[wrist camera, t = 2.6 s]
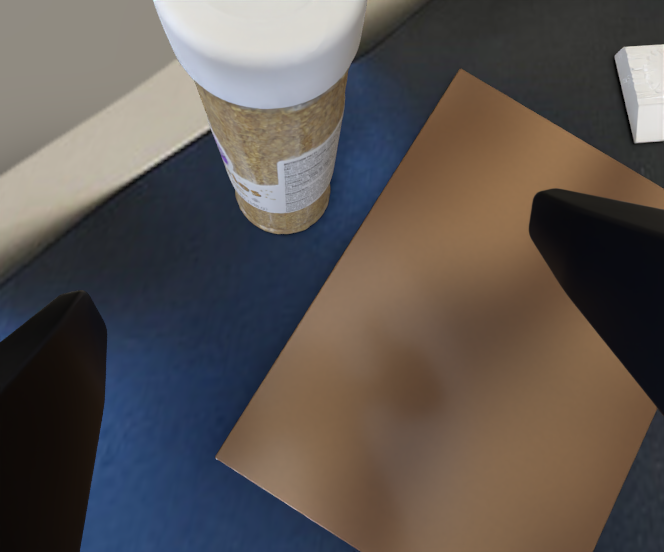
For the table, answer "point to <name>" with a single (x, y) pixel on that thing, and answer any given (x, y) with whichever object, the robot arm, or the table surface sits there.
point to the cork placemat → (454, 357)
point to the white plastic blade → (643, 90)
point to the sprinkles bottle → (271, 95)
